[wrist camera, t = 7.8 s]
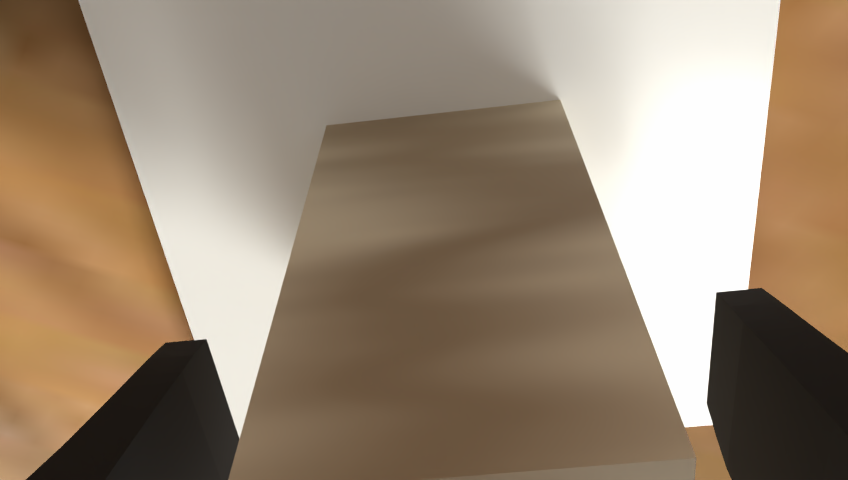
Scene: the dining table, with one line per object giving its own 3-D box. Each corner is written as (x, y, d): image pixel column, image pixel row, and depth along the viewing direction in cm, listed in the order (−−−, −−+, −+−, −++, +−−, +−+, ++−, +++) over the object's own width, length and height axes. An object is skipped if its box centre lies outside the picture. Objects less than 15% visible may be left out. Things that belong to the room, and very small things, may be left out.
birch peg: (559, 99, 13) (696, 457, 7) (566, 292, 15) (674, 717, 9) (326, 125, 14) (222, 494, 7) (363, 312, 16) (313, 738, 9)
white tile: (775, -136, 12) (794, -129, 12) (721, 398, 18) (732, 423, 17) (84, -49, 13) (65, -38, 12) (242, 437, 19) (236, 463, 18)
